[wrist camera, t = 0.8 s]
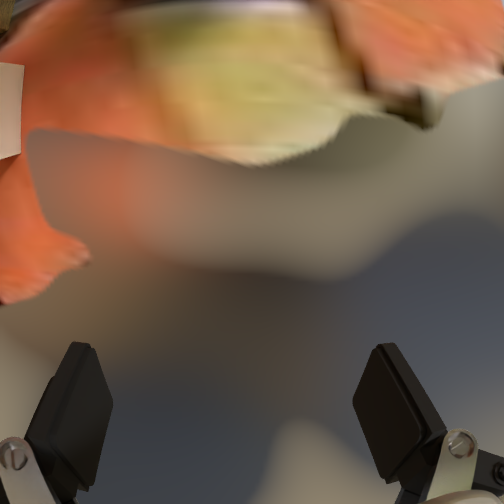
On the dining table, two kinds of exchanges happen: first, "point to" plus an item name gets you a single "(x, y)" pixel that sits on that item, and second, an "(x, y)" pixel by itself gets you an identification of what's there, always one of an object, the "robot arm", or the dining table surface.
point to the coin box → (10, 108)
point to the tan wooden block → (5, 14)
